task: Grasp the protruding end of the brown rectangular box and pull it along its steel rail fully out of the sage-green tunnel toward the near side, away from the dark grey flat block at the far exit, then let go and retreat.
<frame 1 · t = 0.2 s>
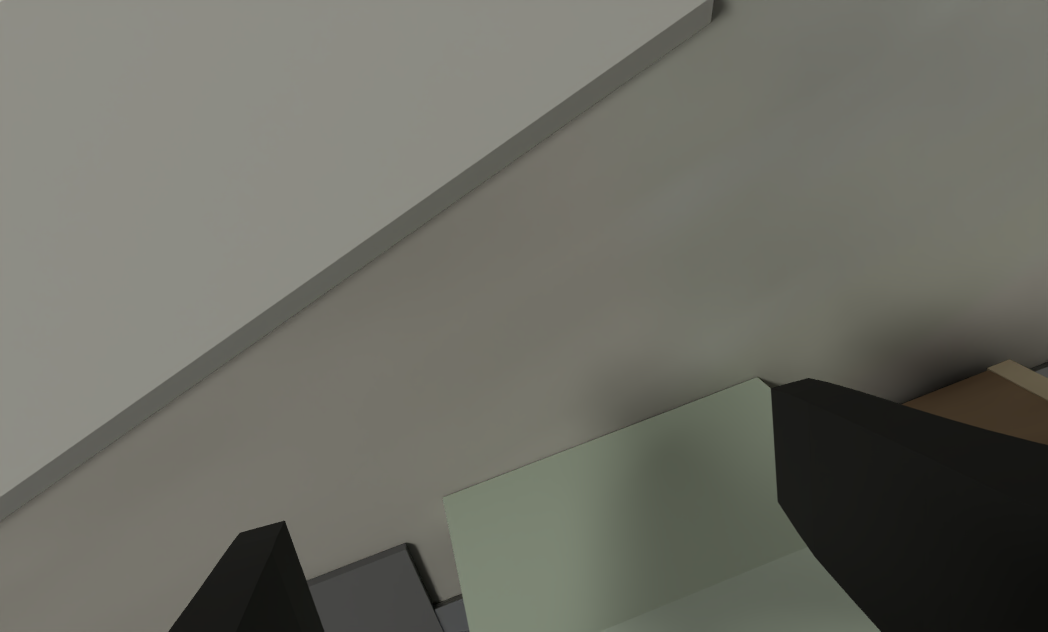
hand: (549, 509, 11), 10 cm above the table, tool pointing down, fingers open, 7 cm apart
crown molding: (66, 148, 18), on the table
tunnel: (640, 563, 25), on the table
brown rectangular box: (899, 539, 22), point 3 cm above the table, slide at 0.0 cm
rail: (865, 473, 25), on the table
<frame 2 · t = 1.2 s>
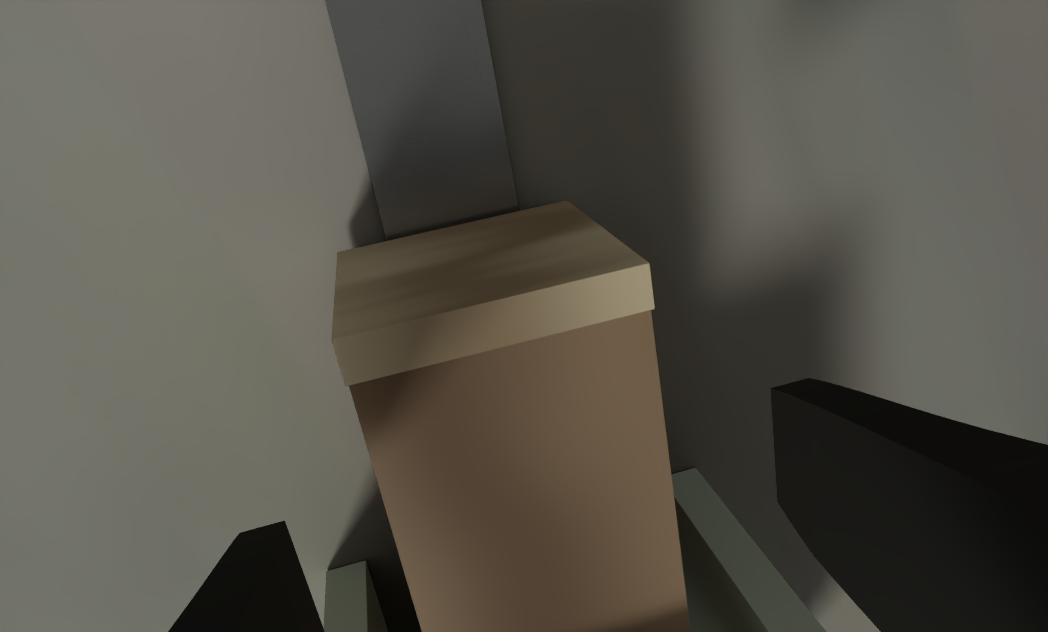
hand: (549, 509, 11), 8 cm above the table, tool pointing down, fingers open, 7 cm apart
brown rectangular box: (527, 520, 17), point 3 cm above the table, slide at 0.0 cm
rail: (495, 418, 19), on the table
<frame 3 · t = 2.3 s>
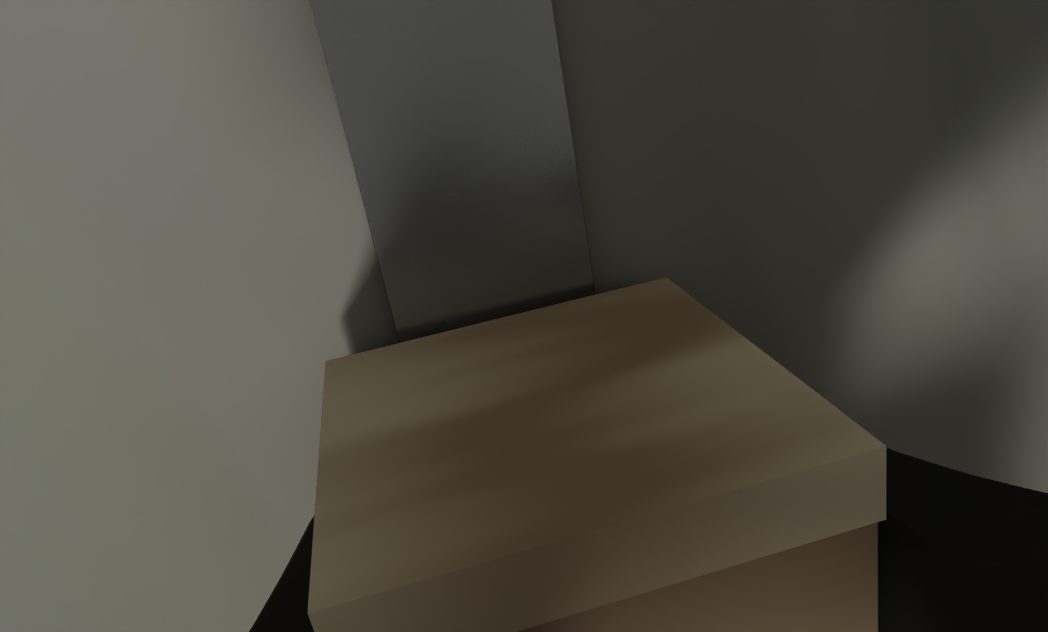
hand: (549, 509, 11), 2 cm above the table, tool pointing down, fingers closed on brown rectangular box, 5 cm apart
rail: (550, 574, 13), on the table
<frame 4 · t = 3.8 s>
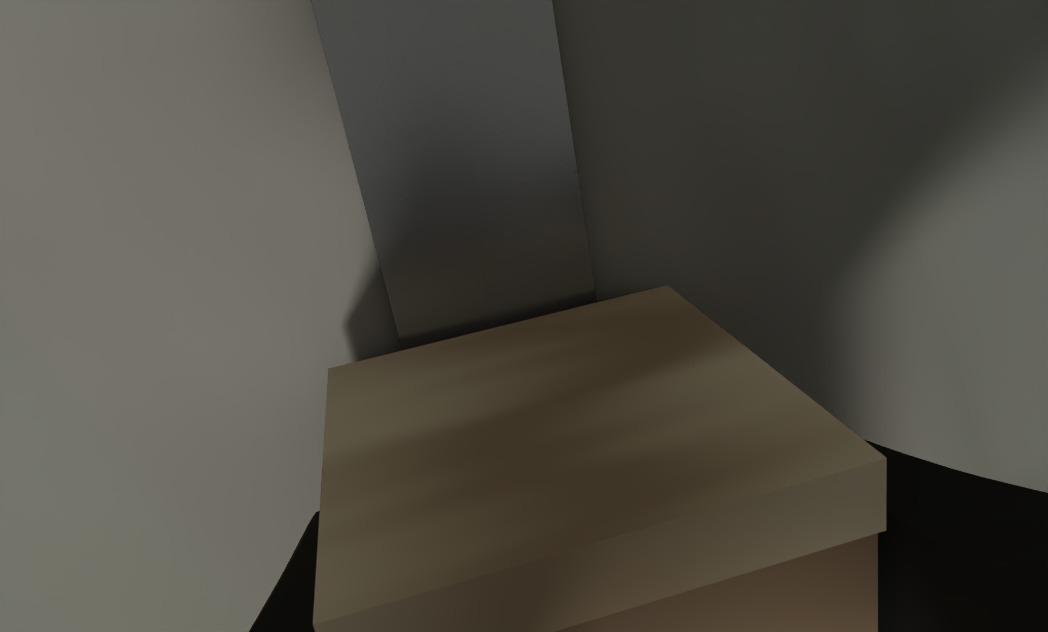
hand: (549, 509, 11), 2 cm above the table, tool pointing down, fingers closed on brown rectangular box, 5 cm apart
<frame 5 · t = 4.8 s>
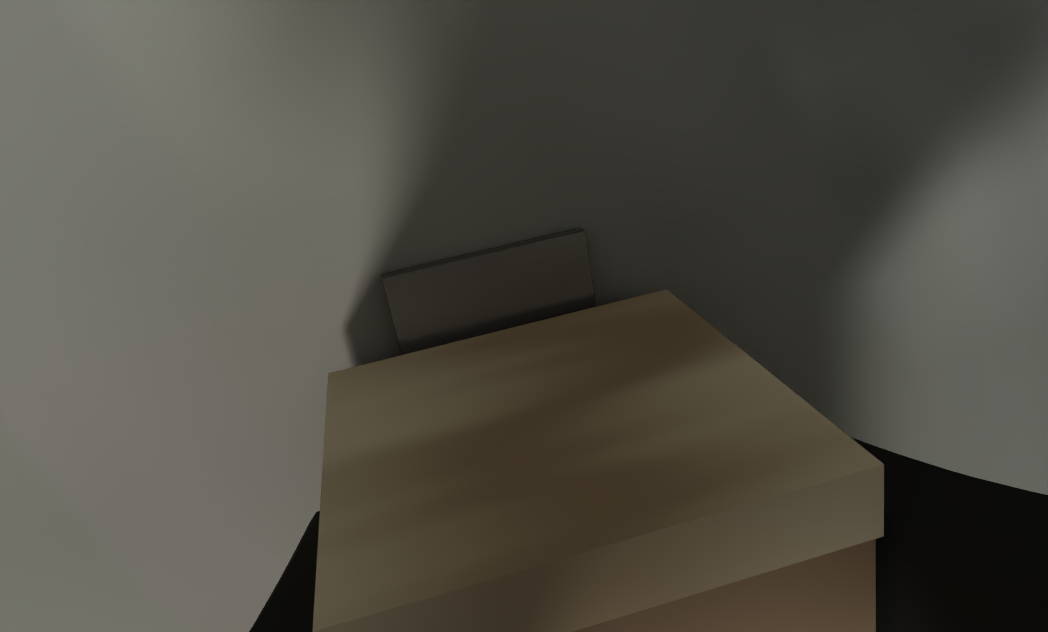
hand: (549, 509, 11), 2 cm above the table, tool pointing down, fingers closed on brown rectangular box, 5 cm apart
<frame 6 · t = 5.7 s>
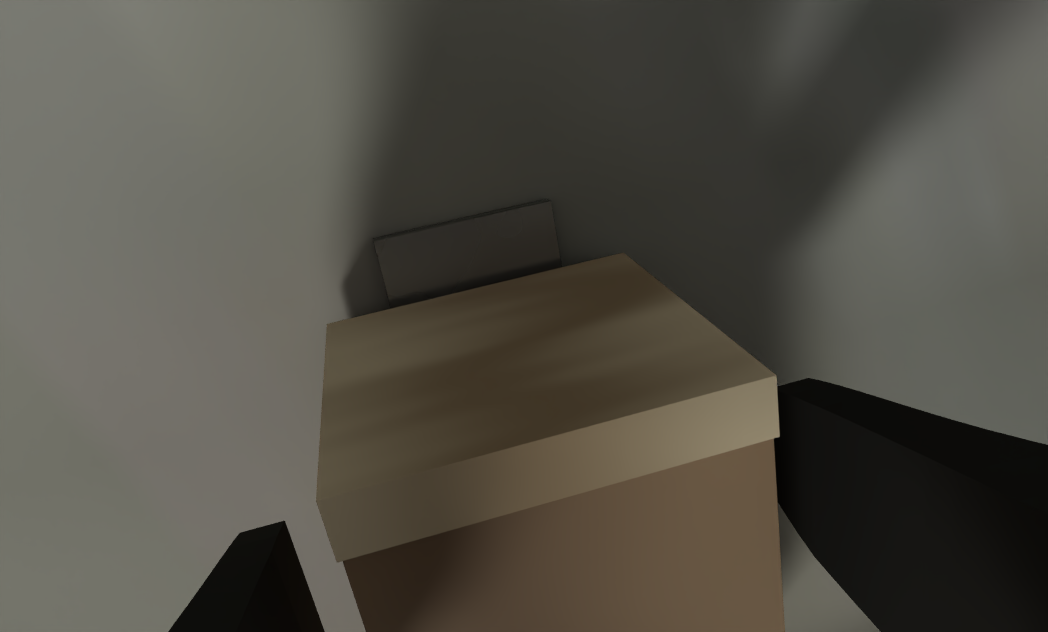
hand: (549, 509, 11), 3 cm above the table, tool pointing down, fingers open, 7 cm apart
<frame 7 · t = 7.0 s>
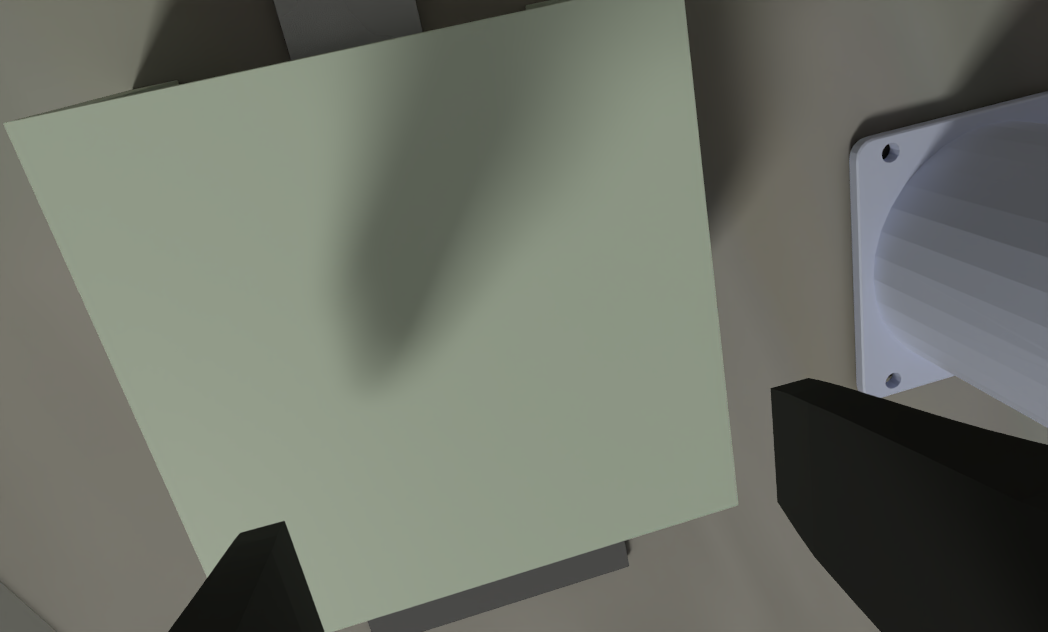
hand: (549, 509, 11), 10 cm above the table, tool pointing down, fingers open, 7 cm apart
tunnel: (411, 248, 19), on the table
dark grey flat block: (486, 533, 23), on the table
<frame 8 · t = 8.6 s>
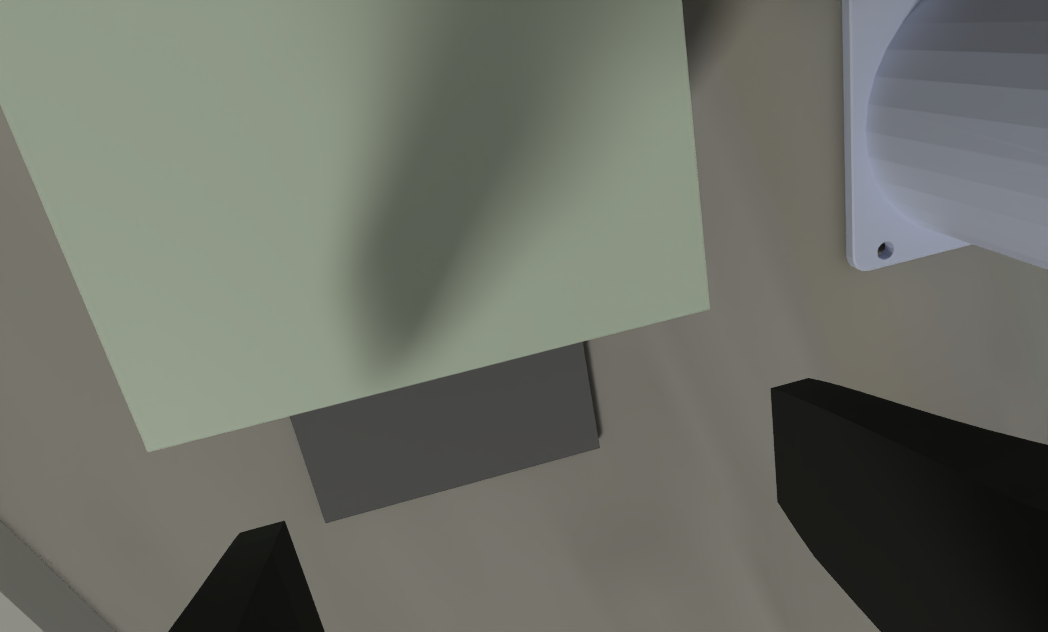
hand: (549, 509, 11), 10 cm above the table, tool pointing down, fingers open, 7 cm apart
tunnel: (363, 65, 18), on the table
dark grey flat block: (446, 403, 21), on the table
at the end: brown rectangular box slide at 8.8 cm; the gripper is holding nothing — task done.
